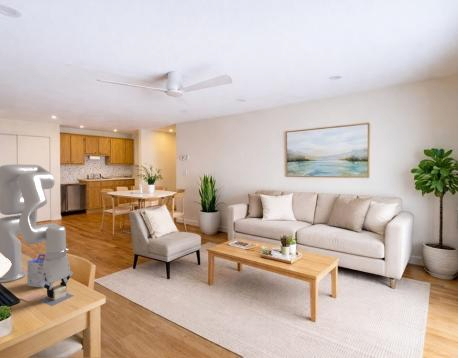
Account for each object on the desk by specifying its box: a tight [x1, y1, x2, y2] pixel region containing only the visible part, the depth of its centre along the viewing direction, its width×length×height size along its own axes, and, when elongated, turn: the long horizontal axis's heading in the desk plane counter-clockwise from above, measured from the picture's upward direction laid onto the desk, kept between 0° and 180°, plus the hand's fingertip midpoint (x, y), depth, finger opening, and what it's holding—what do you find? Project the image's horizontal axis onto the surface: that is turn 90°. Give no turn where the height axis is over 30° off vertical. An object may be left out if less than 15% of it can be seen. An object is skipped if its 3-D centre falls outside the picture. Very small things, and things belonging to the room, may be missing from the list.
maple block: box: [48, 284, 67, 300], centre depth 122 cm, size 5×5×4 cm
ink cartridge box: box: [26, 253, 47, 289], centre depth 133 cm, size 10×6×14 cm, turn 78°
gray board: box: [37, 292, 75, 307], centre depth 121 cm, size 10×10×1 cm
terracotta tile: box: [19, 290, 47, 303], centre depth 121 cm, size 7×7×1 cm
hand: (57, 294), depth 122 cm, fingers closed on maple block, 5 cm apart
